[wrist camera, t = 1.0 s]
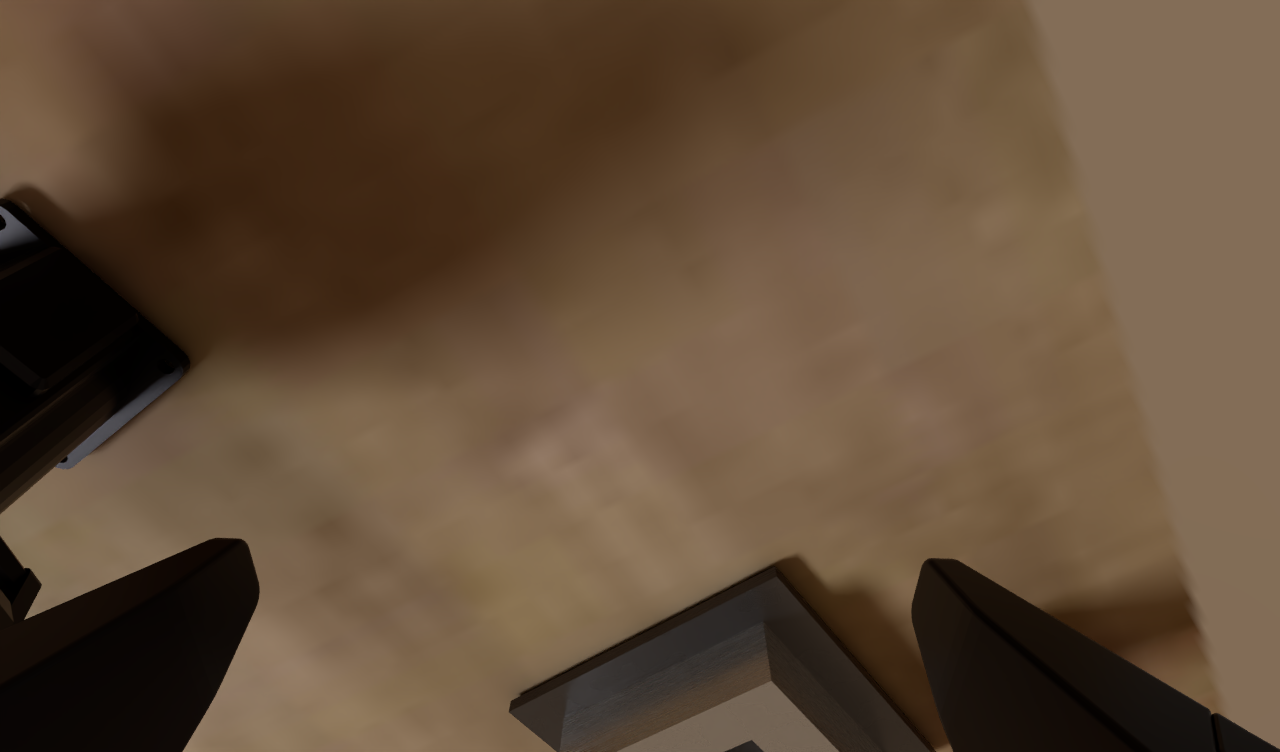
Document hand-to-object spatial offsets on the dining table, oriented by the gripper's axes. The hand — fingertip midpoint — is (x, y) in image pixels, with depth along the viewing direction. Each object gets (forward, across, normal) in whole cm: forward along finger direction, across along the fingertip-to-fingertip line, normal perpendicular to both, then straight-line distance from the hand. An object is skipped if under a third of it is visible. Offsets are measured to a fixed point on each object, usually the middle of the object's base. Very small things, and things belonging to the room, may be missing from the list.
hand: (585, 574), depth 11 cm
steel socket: (+12, +4, -20) cm, 24 cm away
